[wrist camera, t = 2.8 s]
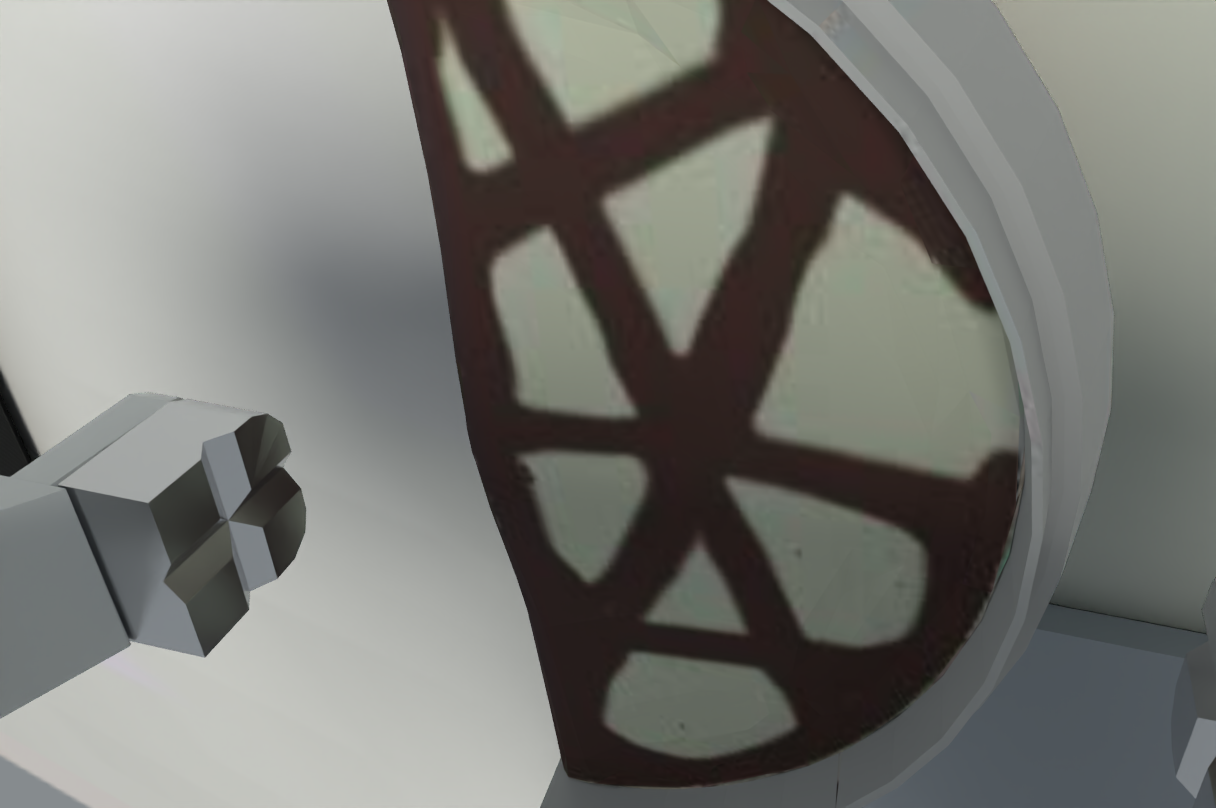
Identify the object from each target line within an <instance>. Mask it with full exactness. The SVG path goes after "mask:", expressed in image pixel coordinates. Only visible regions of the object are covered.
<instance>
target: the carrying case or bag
mask: <svg viewBox="0 0 1216 808" xmlns="http://www.w3.org/2000/svg"><path fill="white" fill-rule="evenodd" d="M30 463H31V460H30V458H29V456H28V453H27V451H26V449H25V447H24V445H23V442H22V440H21V438H20V436H19V434H18V432H17V429H16V427H15V425H14V423H13V421H12V418H11V416H10V414H9V412H8V410H7V408H6V405H5V403H4V401H3V399H2V397H1V394H0V475H2V476H7V477H11V476H12V475H14V474H15V473H17V472H18V471H20V470H21V469H22V468H24V467H25V466H27V465H28V464H30Z"/></svg>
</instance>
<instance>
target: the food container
mask: <svg viewBox="0 0 1216 808" xmlns="http://www.w3.org/2000/svg"><path fill="white" fill-rule="evenodd" d="M387 2H388V6H389V10H390V13H391V17H392V20H393V24H394V28H395V31H396V35H397V38H398V42H399V45H400V49H401V53H402V57H403V62H404V67H405V71H406V76H407V81H408V85H409V90H410V94H411V99H412V104H413V108H414V113H415V118H416V122H417V127H418V131H419V136H420V141H421V145H422V150H423V155H424V159H425V164H426V169H427V173H428V178H429V184H430V190H431V195H432V201H433V207H434V213H435V219H436V224H437V230H438V236H439V242H440V247H441V255H442V262H443V269H444V277H445V284H446V291H447V299H448V306H449V313H450V320H451V328H452V335H453V342H454V350H455V357H456V363H457V369H458V375H459V381H460V386H461V392H462V398H463V404H464V410H465V415H466V422H467V430H468V435H469V440H470V444H471V448H472V452H473V455H474V458H475V461H476V464H477V467H478V470H479V474H480V477H481V480H482V483H483V486H484V489H485V492H486V496H487V499H488V502H489V505H490V508H491V511H492V514H493V516H494V519H495V522H496V524H497V527H498V529H499V532H500V535H501V537H502V540H503V543H504V545H505V548H506V551H507V553H508V556H509V558H510V561H511V564H512V566H513V569H514V572H515V574H516V577H517V580H518V583H519V586H520V589H521V592H522V595H523V598H524V601H525V604H526V607H527V610H528V614H529V619H530V623H531V627H532V631H533V636H534V640H535V644H536V648H537V653H538V657H539V661H540V666H541V670H542V674H543V678H544V683H545V687H546V691H547V695H548V700H549V704H550V709H551V713H552V718H553V722H554V727H555V731H556V736H557V740H558V745H559V749H560V754H561V759H560V761H559V764H558V766H557V768H556V771H555V773H554V776H553V778H552V780H551V783H550V785H549V788H548V790H547V792H546V795H545V797H544V800H543V802H542V804H541V807H540V808H862V807H863V806H865V805H867V804H869V803H871V802H873V801H874V800H876V799H878V798H880V797H882V796H884V795H885V794H887V793H889V792H891V791H893V790H895V789H896V788H898V787H899V786H900V785H902V784H903V783H904V782H905V781H906V780H908V779H909V778H910V777H911V776H912V775H914V774H915V773H916V772H917V771H918V770H920V769H921V768H922V767H923V766H924V765H926V764H927V763H928V762H929V761H930V760H932V759H933V758H934V757H935V756H936V755H938V754H939V753H940V752H941V751H942V750H944V749H945V748H946V747H947V746H948V745H949V744H950V743H951V742H952V740H953V739H954V738H955V737H956V735H957V734H958V733H959V731H960V730H961V729H962V728H963V726H964V725H965V724H966V723H967V721H968V720H969V719H970V717H971V716H972V715H973V714H974V712H976V711H977V710H978V709H979V708H980V707H981V706H982V705H983V703H984V702H985V701H986V700H987V698H988V697H989V696H990V695H991V693H992V692H993V691H994V690H995V688H996V687H997V686H998V685H999V683H1000V682H1001V681H1002V679H1003V678H1004V677H1005V676H1006V674H1007V673H1008V672H1009V671H1010V669H1011V668H1012V667H1013V666H1014V664H1015V663H1016V662H1017V661H1018V659H1019V658H1020V657H1021V656H1022V654H1023V653H1024V652H1025V651H1026V649H1027V647H1028V644H1029V642H1030V640H1031V638H1032V636H1033V634H1034V632H1035V630H1036V628H1037V626H1038V624H1039V622H1040V620H1041V618H1042V616H1043V614H1044V612H1045V610H1046V608H1047V606H1048V604H1049V602H1050V600H1051V598H1052V596H1053V594H1054V592H1055V589H1056V587H1057V585H1058V583H1059V581H1060V579H1061V576H1062V573H1063V571H1064V568H1065V565H1066V562H1067V559H1068V556H1069V554H1070V551H1071V548H1072V545H1073V542H1074V539H1075V536H1076V534H1077V531H1078V528H1079V525H1080V522H1081V519H1082V517H1083V514H1084V511H1085V508H1086V505H1087V502H1088V500H1089V497H1090V494H1091V490H1092V486H1093V482H1094V478H1095V474H1096V470H1097V466H1098V461H1099V457H1100V453H1101V449H1102V445H1103V441H1104V437H1105V433H1106V428H1107V424H1108V420H1109V416H1110V412H1111V402H1112V371H1113V341H1114V310H1113V304H1112V298H1111V292H1110V286H1109V280H1108V274H1107V268H1106V262H1105V256H1104V250H1103V244H1102V238H1101V232H1100V226H1099V220H1098V214H1097V211H1096V208H1095V206H1094V203H1093V200H1092V198H1091V195H1090V192H1089V190H1088V187H1087V184H1086V181H1085V179H1084V176H1083V173H1082V171H1081V168H1080V165H1079V163H1078V160H1077V157H1076V155H1075V152H1074V149H1073V147H1072V144H1071V141H1070V138H1069V136H1068V133H1067V130H1066V128H1065V125H1064V122H1063V120H1062V117H1061V114H1060V112H1059V109H1058V107H1057V106H1056V104H1055V102H1054V101H1053V99H1052V97H1051V96H1050V94H1049V92H1048V91H1047V89H1046V87H1045V86H1044V84H1043V82H1042V81H1041V79H1040V77H1039V76H1038V74H1037V72H1036V71H1035V69H1034V67H1033V66H1032V64H1031V62H1030V61H1029V59H1028V57H1027V56H1026V54H1025V52H1024V51H1023V49H1022V47H1021V46H1020V44H1019V42H1018V41H1017V39H1016V37H1015V36H1014V34H1013V32H1012V31H1011V29H1010V27H1009V26H1008V24H1007V22H1006V21H1005V19H1004V17H1003V16H1002V14H1001V12H1000V11H999V9H998V7H997V6H996V5H995V4H994V3H993V2H992V1H991V0H387Z"/></svg>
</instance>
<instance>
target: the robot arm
mask: <svg viewBox="0 0 1216 808" xmlns="http://www.w3.org/2000/svg"><path fill="white" fill-rule="evenodd" d="M290 453H291V449H290V446H289V443H288V439H287V436H286V433H285V430H284V427H283V423H281V422H280V421H278V420H277V419H275V418H273V417H272V416H270V415H269V414H267V413H261V412H256V411H251V410H245V409H240V408H235V407H229V406H224V405H219V404H213V403H208V402H203V401H197V400H192V399H182V398H179V397H173V396H167V395H161V394H156V393H150V392H147V393H138V394H129V395H128V396H127V397H125V398H124V399H122V400H121V401H119V402H118V403H116V404H115V405H113V406H112V407H111V408H109V409H108V410H106V411H105V412H103V413H102V414H100V415H99V416H98V417H96V418H95V419H93V420H92V421H90V422H89V423H87V424H86V425H85V426H83V427H82V428H80V429H79V430H77V431H76V432H74V433H73V434H72V435H70V436H69V437H67V438H66V439H64V440H63V441H61V442H60V443H59V444H57V445H56V446H54V447H53V448H51V449H50V450H48V451H47V452H46V453H44V454H43V455H41V456H40V457H38V458H37V459H35V460H34V461H33V462H31V463H30V464H28V465H27V466H25V467H24V468H22V469H21V470H20V471H18V472H17V473H15V474H14V475H12V476H11V477H7V476H2V475H0V718H2V717H4V716H6V715H8V714H9V713H11V712H13V711H15V710H17V709H18V708H20V707H22V706H24V705H26V704H27V703H29V702H31V701H33V700H34V699H36V698H38V697H40V696H42V695H43V694H45V693H47V692H49V691H51V690H52V689H54V688H56V687H58V686H59V685H61V684H63V683H65V682H67V681H68V680H70V679H72V678H74V677H76V676H77V675H79V674H81V673H83V672H84V671H86V670H88V669H90V668H92V667H93V666H95V665H97V664H99V663H101V662H102V661H104V660H106V659H108V658H109V657H111V656H113V655H115V654H117V653H118V652H120V651H122V650H124V649H126V648H127V647H129V646H130V645H131V643H130V641H133V642H137V643H142V644H146V645H151V646H155V647H160V648H164V649H169V650H173V651H178V652H182V653H187V654H191V655H196V656H200V657H206V656H207V655H208V654H209V652H210V651H211V650H212V649H213V648H214V647H215V646H216V645H217V644H218V643H219V642H220V641H221V639H222V638H223V637H224V636H225V635H226V634H227V633H228V632H229V631H230V630H231V629H232V628H233V626H234V625H235V624H236V623H237V622H238V621H239V620H240V619H241V618H242V617H243V616H244V615H245V613H246V612H247V611H248V610H249V602H250V591H251V590H254V589H256V588H258V587H260V586H262V585H265V584H267V583H269V582H271V581H273V580H276V579H277V578H278V577H279V576H280V575H281V574H282V573H283V572H284V570H285V569H286V568H287V567H288V566H289V565H290V563H291V562H292V561H293V560H294V559H295V557H296V554H297V551H298V549H299V546H300V544H301V541H302V539H303V536H304V534H305V524H306V507H305V503H304V499H303V495H302V491H301V488H300V487H299V486H298V484H297V483H296V482H295V481H294V480H293V479H292V477H291V476H290V475H289V474H288V473H287V472H286V470H285V469H284V468H283V467H284V465H285V463H286V461H287V459H288V457H289V455H290ZM1202 614H1203V618H1204V623H1205V628H1206V633H1207V637H1208V641H1207V642H1205V643H1204V644H1202V645H1200V646H1198V647H1197V648H1195V649H1193V650H1191V651H1189V652H1188V653H1186V655H1185V658H1184V661H1183V665H1182V668H1181V671H1180V674H1179V677H1178V681H1177V684H1176V688H1175V695H1174V702H1173V710H1172V717H1171V741H1172V754H1173V761H1174V768H1175V775H1176V778H1177V779H1178V780H1179V781H1180V782H1181V783H1182V784H1183V786H1184V787H1185V788H1186V789H1187V790H1188V791H1189V792H1190V793H1191V794H1192V795H1193V796H1194V798H1195V802H1194V804H1193V807H1192V808H1216V578H1215V579H1214V581H1213V582H1212V584H1211V586H1210V589H1209V591H1208V594H1207V597H1206V599H1205V602H1204V605H1203V607H1202Z"/></svg>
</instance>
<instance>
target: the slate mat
mask: <svg viewBox="0 0 1216 808" xmlns="http://www.w3.org/2000/svg"><path fill="white" fill-rule="evenodd" d="M1207 641H1208V637H1207V634H1202V633H1197V632H1192V631H1187V630H1182V629H1176V628H1171V627H1166V626H1161V625H1156V624H1150V623H1145V622H1140V621H1135V620H1130V619H1124V618H1119V617H1114V616H1109V615H1104V614H1098V613H1093V612H1088V611H1083V610H1078V609H1072V608H1067V607H1062V606H1057V605H1052V604H1048V606H1047V608H1046V610H1045V612H1044V614H1043V616H1042V618H1041V620H1040V622H1039V624H1038V626H1037V628H1036V630H1035V632H1034V634H1033V636H1032V638H1031V640H1030V642H1029V644H1028V647H1027V649H1026V651H1025V652H1024V653H1023V654H1022V656H1021V657H1020V658H1019V659H1018V661H1017V662H1016V663H1015V664H1014V666H1013V667H1012V668H1011V669H1010V671H1009V672H1008V673H1007V674H1006V676H1005V677H1004V678H1003V679H1002V681H1001V682H1000V683H999V685H998V686H997V687H996V688H995V690H994V691H993V692H992V693H991V695H990V696H989V697H988V698H987V700H986V701H985V702H984V703H983V705H982V706H981V707H980V708H979V709H978V710H977V711H976V712H974V714H973V715H972V716H971V717H970V719H969V720H968V721H967V723H966V724H965V725H964V726H963V728H962V729H961V730H960V731H959V733H958V734H957V735H956V737H955V738H954V739H953V740H952V742H951V743H950V744H949V745H948V746H947V747H946V748H945V749H944V750H942V751H941V752H940V753H939V754H938V755H936V756H935V757H934V758H933V759H932V760H930V761H929V762H928V763H927V764H926V765H924V766H923V767H922V768H921V769H920V770H918V771H917V772H916V773H915V774H914V775H912V776H911V777H910V778H909V779H908V780H906V781H905V782H904V783H903V784H902V785H900V786H899V787H898V788H896V789H895V790H893V791H891V792H889V793H887V794H885V795H884V796H882V797H880V798H878V799H876V800H874V801H873V802H871V803H869V804H867V805H865V806H863V807H862V808H1192V807H1193V804H1194V802H1195V798H1194V796H1193V795H1192V794H1191V793H1190V792H1189V791H1188V790H1187V789H1186V788H1185V787H1184V786H1183V784H1182V783H1181V782H1180V781H1179V780H1178V779H1177V778H1176V775H1175V768H1174V761H1173V754H1172V741H1171V717H1172V710H1173V702H1174V695H1175V688H1176V684H1177V681H1178V677H1179V674H1180V671H1181V668H1182V665H1183V661H1184V658H1185V655H1186V653H1188V652H1189V651H1191V650H1193V649H1195V648H1197V647H1198V646H1200V645H1202V644H1204V643H1205V642H1207Z"/></svg>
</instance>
